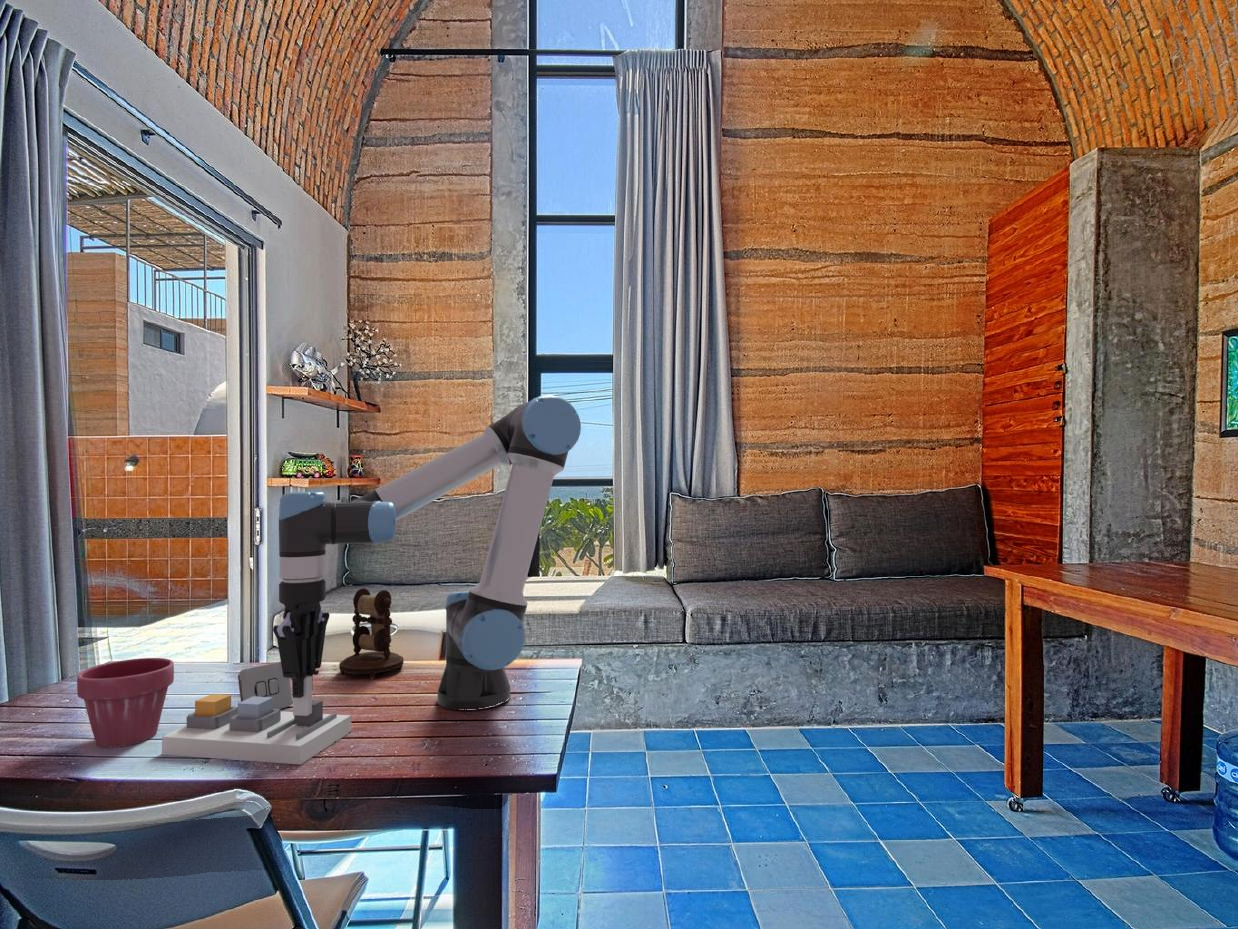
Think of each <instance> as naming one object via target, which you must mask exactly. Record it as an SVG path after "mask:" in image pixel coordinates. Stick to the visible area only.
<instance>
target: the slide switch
mask: <svg viewBox="0 0 1238 929" xmlns="http://www.w3.org/2000/svg"><path fill="white" fill-rule="evenodd" d="M323 706H324V700H315V699H312V713H311V714H309V715H308V716H301V715H294V724H299V725H314V724H315V723H317V722H319V721H321V720H322V719H323V714H324V713H323V712H324V711H323V710H324V707H323Z"/></svg>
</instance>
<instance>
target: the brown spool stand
mask: <svg viewBox="0 0 1238 929" xmlns="http://www.w3.org/2000/svg"><path fill="white" fill-rule="evenodd" d="M352 601H353V607H354V611H353V613H354V615H353V616H352V622H353V624H354V629H353V631H354V632H353V635H352V644H353V647H354V648H353V653H354V654H353V655H349V656H348V657H346V658H345V659H343V660H341V661H340V662H339V666H338V668H339V671H340V674H341V673H344V674H345V673H347V674H354V675H356V674H357V675H360V674H362V675H365V674H366V675H367V674H369V677H370V679H371V678H373V679H375V676H376V674H377V673H384V672H388V671H392V670H395V669H399V668H401V669H402V668H403V665H404V664H405V663H404V657H403V656H401V655H399V654H398V653H396V652H392V651H391V649H390V647H391V645H390V644H391V643H392V637H391V636H392V635H391V626H392V624H393V619H392V617H390V616H391V611H390V609H391V605H392V595H391V593H390V591H388V590H386V589H382V590H380V591H378V592H377V594H376V595H372V594H371V593H370V591H369V590H368V589H367V588H360V589H358V590H357V591H356V593H355V594H354V597H353V600H352ZM363 615H365V616H363ZM366 616H369V617H366ZM361 623H367V624H370V627H371V631H370V629H369V627H367V626H366V625H361ZM361 650H364V651H365V652H361ZM366 651H368V652H366Z"/></svg>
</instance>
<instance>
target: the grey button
mask: <svg viewBox="0 0 1238 929" xmlns="http://www.w3.org/2000/svg"><path fill="white" fill-rule="evenodd" d="M237 707H238V718H249V719H260V718H262V717H264V716H266V715H268V714H270V713H272V712H273V697H255V696H253V697H251V698H249V699H246V700H244V701H242V702H241V701H240V702H237Z"/></svg>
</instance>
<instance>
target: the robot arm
mask: <svg viewBox="0 0 1238 929" xmlns="http://www.w3.org/2000/svg"><path fill="white" fill-rule="evenodd" d="M581 425H582V424H581V419H580V416H579V413H578V412H577V410H576V409H575V407H574V405H572V404H571V403H570V402H569V401H568V400H567V399H564V398H562V397H559V396H556V395H539V396H537V397H535V398H533V399H531V400H530V401H527V402H524V403H522V404H519V405H518V406H517V407H515V408H514V409H513V410H511V411H509V413H506V414H505V415H504V416H503V417H501V418H500V419H498V420H496V421H495V422H494V423H492V424H489V425H488V426H485V428H484V431H483V433H482V434H479V436H476V437H474V438H472V439H471V440H469V441H467V442H465V443H464V444H461V445H459V446H457V447H456V448H453V449H451V450H449V451H448V452H445V453H444V454H441V455H439V456H438V457H436V458H434V459H431V460H430V461H428V462H426V463H424V464H422V465H420V466H418V467H416V468H413V469H412V470H411V471H408V472H407V473H405V474H403V475H401V476H399V477H397V478H395V479H393V480H391V481H390V482H389V481H388V482H387V483H385V484H384V485H382V486H380V487H378V488H376V489H374V490H373V491H371V492H368V493H366V494H364V495H362V496H360V497H358V498H356V499H353V500H350V501H348V502H330V501H327V498H326V493H324V492H322V491H303V492H302V491H299V492H298V491H297V492H293V491H292V492H286V493H284V494H282V496H280V498H279V509H278V553H279V554H278V556H279V558H278V559H279V561H278V562H279V568H278V569H279V573H278V577H279V579H281V580H282V581H280V583H278V602H279V603H280V604H282V605H284V611H283V614H282V619H283V620H282V622H280V624H278V625H277V624H275V625H274V626H273V627H272V632H273V634H274V636H275V638H276V641H277V647H278V654H279V659H280V662H281V666H282V672H283V677H285V678H290V680H292V684H291V685H292V686H291V694H292V701H293V703H292V712H293V715H301V716H308V715H309V714H311V713H312V700H313V689H314V687H313V685H314V683H313V682H314V681H313V680H314V678H313V676H317V675H319V672H320V668H321V667H322V661H323V653H324V645H325V637H326V631H327V625H328V622H329V619H330V613H329V612H323V611H322V606H321V603H320V602H323V601H324V600H325V599H326V596H327V595H326V594H327V593H326V592H327V589H326V588H327V585H326V584H327V582H326V580H325V579H324V577H326V575H327V566H326V565H327V562H326V561H327V559H326V558H327V556H326V548H327V547H326V546H327V545H341V544H342V545H344V544H345V545H346V544H375V545H376V544H379V543H388V542H392V541H393V540H394V539H395V538H396V535H397V534H396V532H397V521H398V520H401V519H402V518H404V517H406V516H407V515H409V514H411V513H413V512H414V511H417V510H419V509H421V508H422V507H424V506H426V505H428V504H430V503H432V502H434V501H436V500H437V499H439V498H441V497H444V496H445V495H446V494H448V493H450V492H452V491H454V490H456V489H458V488H460V487H462V486H464V485H466V484H468V483H469V482H471V481H473V480H475V479H476V478H479V477H480V476H483V475H484V474H486V473H487V472H489V471H491V470H492V471H493V469H495V468H497V467H499V466H502V467H506V468H507V467H509V466H511V469H510V472H509V477H508V479H507V483H506V487H505V490H504V495H503V498H502V501H501V504H500V505H501V506H500V509H499V512H498V515H497V520H496V523H495V526H494V530H493V532H492V538H491V542H490V544H489V549H488V552H487V556H486V559H485V563H484V566H483V570H482V574H481V578H480V580H479V582H478V583H477V584H476V585H474V586H473V587H471V588H470V589H469V590H463V591H453V592H450V593H449V594H447V596H446V600H445V601H446V603H445V607H444V609H445V612H446V614H445V615H446V616H445V618H446V619H445V623H446V624H445V626H446V628H445V629H446V630H445V635H446V636H445V640H446V641H445V644H446V645H445V647H446V648H445V649H446V650H445V655H446V656H445V667H444V670H443V674H442V676H441V680H440V683H439V686H438V688H437V700H436V701H437V702H436V703H437V704H438V706H440V705H441V706H442V708H444V707H445V708H444V709H447V708H448V709H447V710H451V709H456V710H455V711H460V710H459V709H464V710H465V709H466V710H467V709H479V708H485V707H489V706H493V705H496V704H498V703H501V702H505V701H506V700H507V699H508V698H509V697H510V698H511V684H510V682H509V678H508V675H507V673H506V669H505V667H508V666H509V665H511V664H512V663H513V662H514V661H516V659H517V658H518V657H519V656H520V654H521V652H522V651H523V649H524V646H525V642H526V633H525V631H526V630H525V626H524V624H523V623H524V619H525V614H526V613H527V607H528V605H529V604H528V602H527V600H526V597H525V596H524V589H525V586H526V582H527V578H528V574H529V570H530V567H531V563H532V562H531V561H532V559H533V556H534V551H535V548H536V544H537V541H538V537H539V533H540V529H541V526H542V522H543V519H544V516H545V511H546V507H547V504H548V499H549V496H550V492H551V489H552V484H553V481H554V478H555V476H556V475H558V474H559V473H561V472H562V471H564V469H565V465H566V462H567V458H568V456H569V451H571V450H572V449H573V448H574V447H575V445H576V444H577V443H578V441H579V438H580V436H581V432H582V426H581ZM316 669H319V670H316ZM441 706H440V707H441Z"/></svg>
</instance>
